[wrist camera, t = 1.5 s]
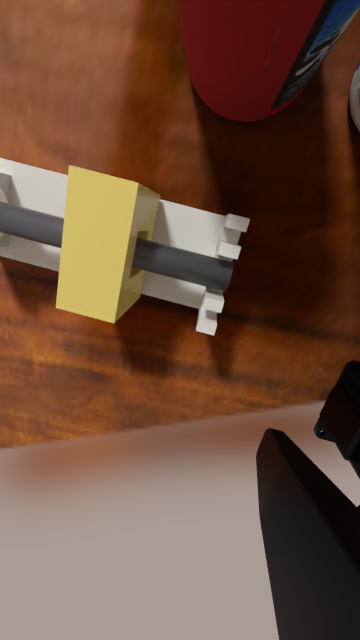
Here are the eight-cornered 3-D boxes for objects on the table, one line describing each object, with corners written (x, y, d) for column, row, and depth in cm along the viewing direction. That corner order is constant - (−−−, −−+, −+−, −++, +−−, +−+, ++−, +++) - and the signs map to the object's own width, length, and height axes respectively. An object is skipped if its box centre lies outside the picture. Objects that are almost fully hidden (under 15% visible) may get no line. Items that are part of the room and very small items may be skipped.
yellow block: (160, 195, 16) (138, 183, 12) (139, 297, 19) (114, 323, 14) (111, 182, 17) (69, 165, 12) (96, 286, 19) (55, 307, 14)
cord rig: (240, 220, 17) (251, 218, 12) (213, 310, 19) (214, 339, 14) (-8, 156, 18) (-90, 130, 13) (-9, 251, 20) (-81, 260, 15)
